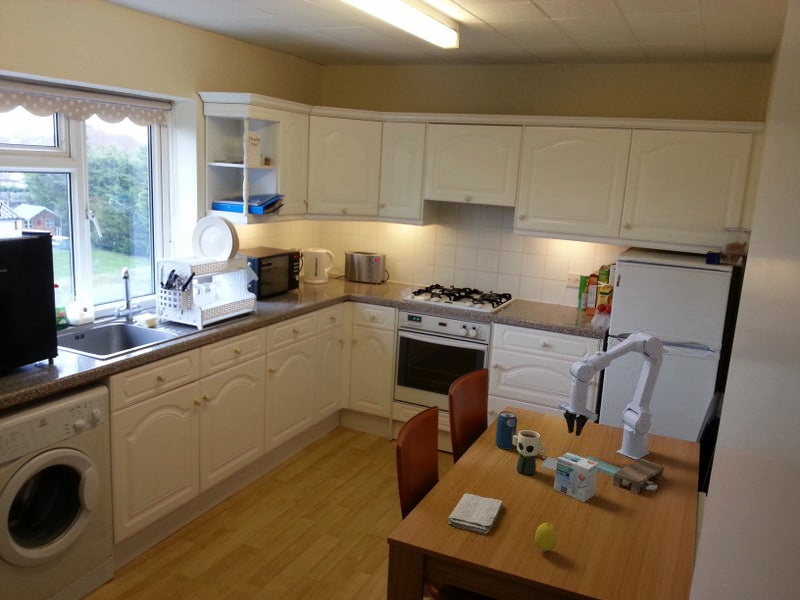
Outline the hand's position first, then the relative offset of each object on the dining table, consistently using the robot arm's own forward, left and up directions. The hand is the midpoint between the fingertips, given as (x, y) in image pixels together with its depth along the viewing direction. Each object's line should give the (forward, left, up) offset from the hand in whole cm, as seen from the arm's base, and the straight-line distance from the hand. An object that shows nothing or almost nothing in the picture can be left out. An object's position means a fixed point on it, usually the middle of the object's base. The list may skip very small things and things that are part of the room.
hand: (574, 433), depth 227 cm
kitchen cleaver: (+11, -1, -9) cm, 14 cm away
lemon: (+58, +28, -9) cm, 65 cm away
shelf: (-1, +24, -8) cm, 25 cm away
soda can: (+12, -20, -9) cm, 25 cm away
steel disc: (0, +28, -9) cm, 29 cm away
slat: (0, +14, -9) cm, 17 cm away
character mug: (+23, -3, -9) cm, 25 cm away
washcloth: (+58, +5, -9) cm, 59 cm away
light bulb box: (+23, +15, -9) cm, 29 cm away
